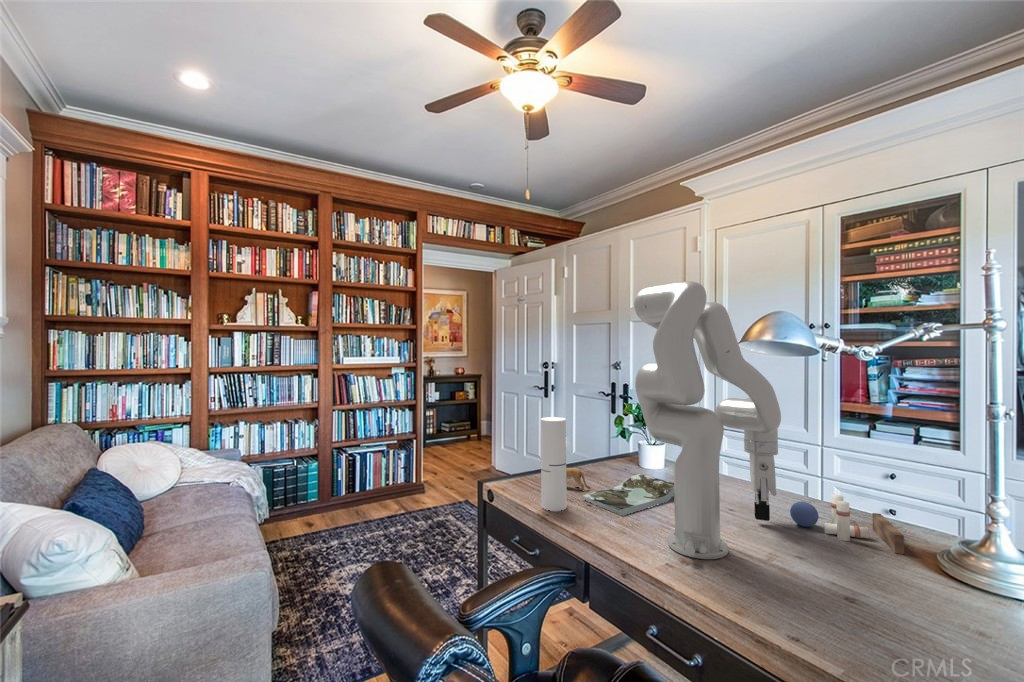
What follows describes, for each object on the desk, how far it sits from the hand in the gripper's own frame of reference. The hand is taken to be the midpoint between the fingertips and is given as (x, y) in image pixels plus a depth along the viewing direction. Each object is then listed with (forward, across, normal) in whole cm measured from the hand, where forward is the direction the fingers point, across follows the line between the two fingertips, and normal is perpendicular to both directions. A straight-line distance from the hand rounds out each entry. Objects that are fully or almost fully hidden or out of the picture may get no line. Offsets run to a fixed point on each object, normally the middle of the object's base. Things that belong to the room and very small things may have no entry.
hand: (762, 518), depth 114 cm
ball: (-2, +3, -10) cm, 10 cm away
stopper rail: (+2, 0, -26) cm, 26 cm away
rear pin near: (+2, -2, -16) cm, 17 cm away
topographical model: (+2, +8, +33) cm, 34 cm away
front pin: (0, 0, -13) cm, 13 cm away
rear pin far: (+2, +2, -16) cm, 17 cm away
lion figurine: (+2, +11, +55) cm, 56 cm away
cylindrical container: (+2, -7, +53) cm, 53 cm away
